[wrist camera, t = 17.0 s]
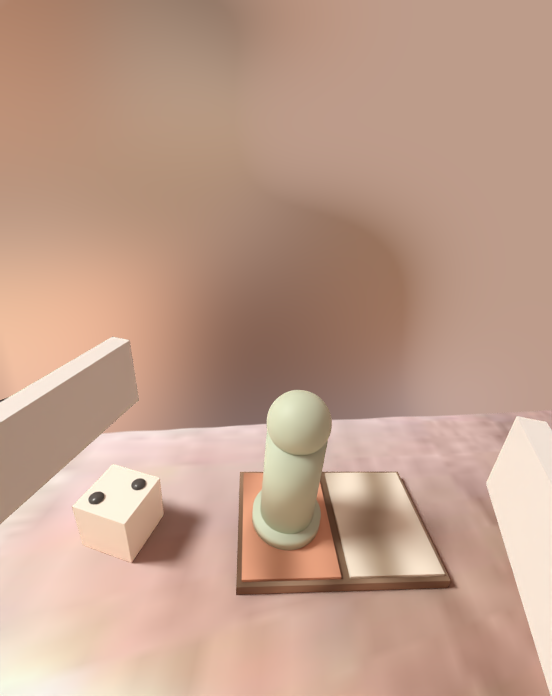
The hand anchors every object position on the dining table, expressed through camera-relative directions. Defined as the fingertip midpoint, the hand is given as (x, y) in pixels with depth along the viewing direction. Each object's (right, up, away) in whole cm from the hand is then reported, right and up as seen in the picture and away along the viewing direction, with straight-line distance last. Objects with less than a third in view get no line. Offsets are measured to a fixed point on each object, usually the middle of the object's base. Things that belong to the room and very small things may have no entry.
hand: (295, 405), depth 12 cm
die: (-15, -15, +21) cm, 30 cm away
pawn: (0, -14, +21) cm, 26 cm away
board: (+5, -16, +22) cm, 28 cm away
